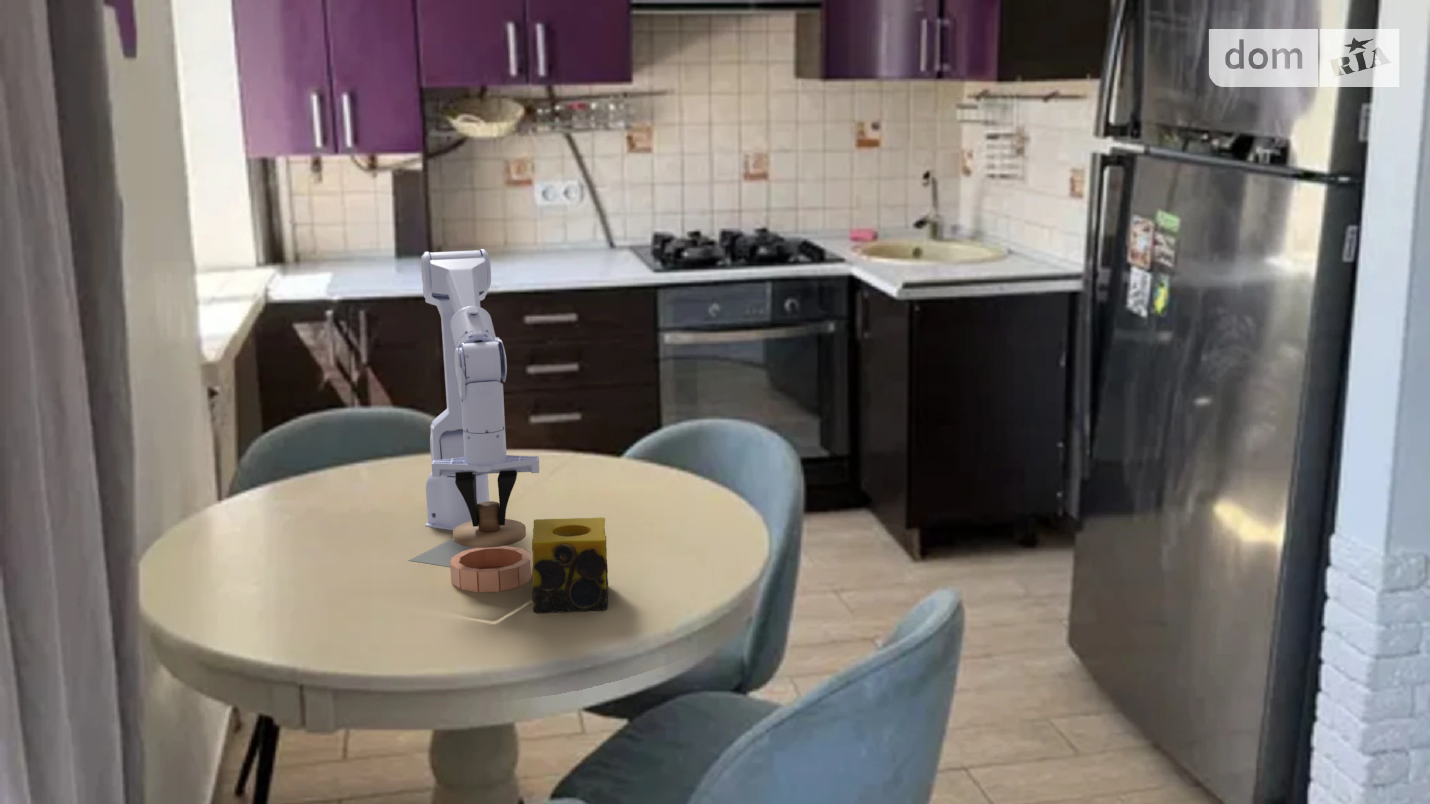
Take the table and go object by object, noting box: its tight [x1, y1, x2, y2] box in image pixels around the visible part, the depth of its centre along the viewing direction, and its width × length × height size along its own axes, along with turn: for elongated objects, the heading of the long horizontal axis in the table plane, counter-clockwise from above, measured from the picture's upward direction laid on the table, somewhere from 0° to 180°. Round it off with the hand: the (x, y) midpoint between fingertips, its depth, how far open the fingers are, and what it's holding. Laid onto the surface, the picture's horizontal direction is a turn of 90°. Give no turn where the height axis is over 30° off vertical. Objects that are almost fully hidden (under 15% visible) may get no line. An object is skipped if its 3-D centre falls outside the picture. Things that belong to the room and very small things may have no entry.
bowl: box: [449, 545, 533, 593], centre depth 192 cm, size 11×11×3 cm
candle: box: [531, 517, 609, 614], centre depth 184 cm, size 10×10×10 cm
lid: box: [452, 500, 527, 548], centre depth 190 cm, size 10×10×5 cm
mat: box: [408, 539, 475, 568], centre depth 202 cm, size 10×10×1 cm
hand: (489, 523), depth 191 cm, fingers closed on lid, 3 cm apart
